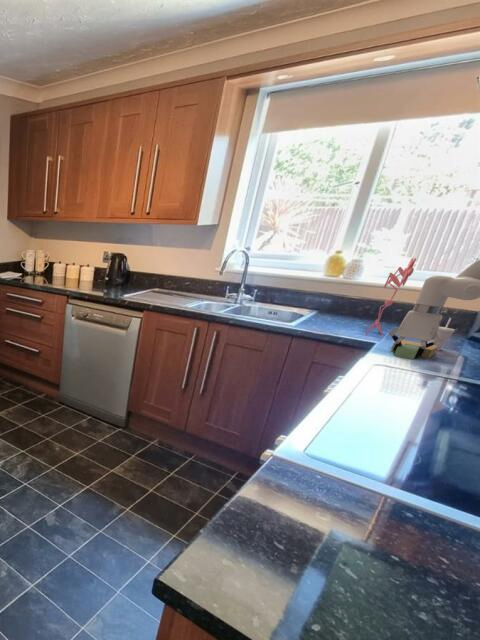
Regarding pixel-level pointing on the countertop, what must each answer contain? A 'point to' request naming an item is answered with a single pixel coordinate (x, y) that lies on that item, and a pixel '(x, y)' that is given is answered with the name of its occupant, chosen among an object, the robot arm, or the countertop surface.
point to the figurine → (404, 274)
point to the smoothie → (443, 335)
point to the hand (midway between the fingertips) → (406, 354)
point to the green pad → (406, 351)
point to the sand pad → (427, 352)
